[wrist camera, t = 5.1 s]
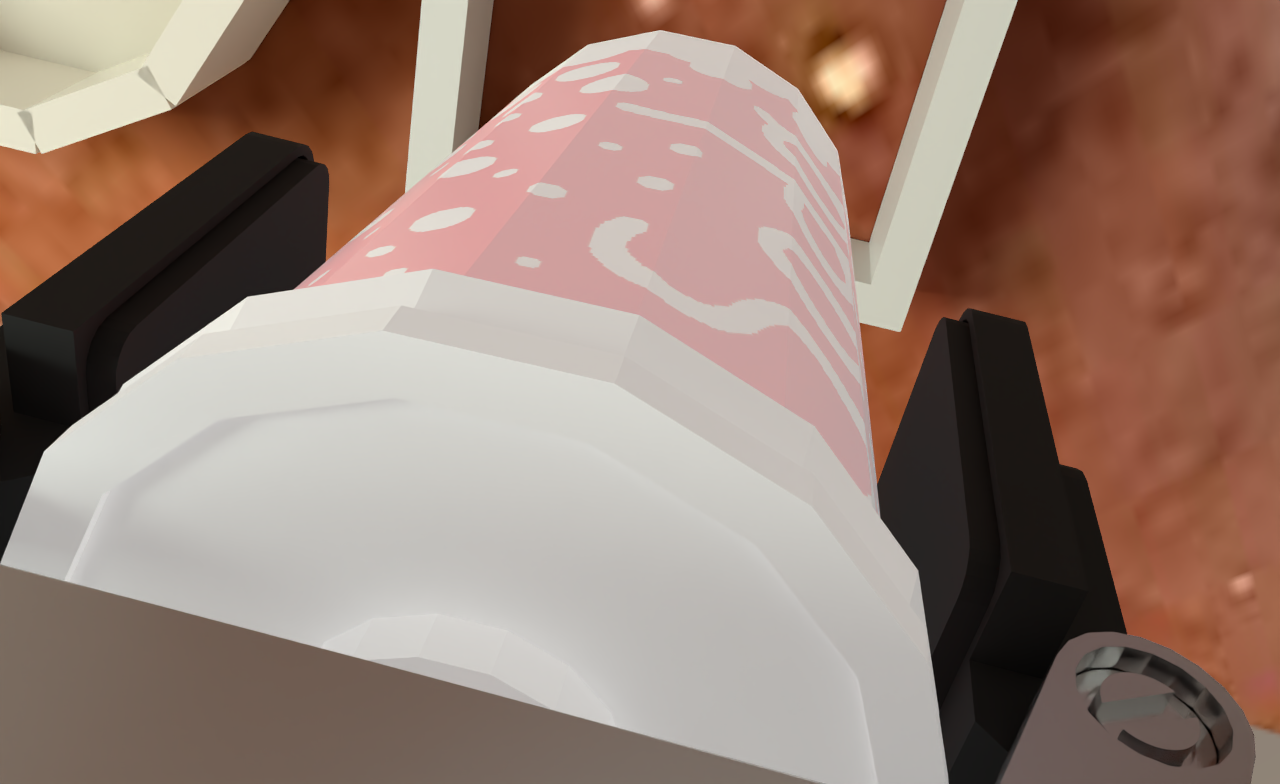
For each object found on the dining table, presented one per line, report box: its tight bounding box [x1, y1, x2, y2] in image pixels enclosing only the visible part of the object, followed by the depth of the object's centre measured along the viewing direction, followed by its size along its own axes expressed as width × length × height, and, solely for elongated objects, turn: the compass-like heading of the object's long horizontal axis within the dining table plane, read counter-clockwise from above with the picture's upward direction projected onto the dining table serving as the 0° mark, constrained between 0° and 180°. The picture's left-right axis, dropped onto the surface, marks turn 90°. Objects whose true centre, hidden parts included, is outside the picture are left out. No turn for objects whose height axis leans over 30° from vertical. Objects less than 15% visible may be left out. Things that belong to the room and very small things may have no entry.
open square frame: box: [405, 0, 1018, 332], centre depth 25 cm, size 12×12×2 cm
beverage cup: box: [0, 30, 949, 784], centre depth 9 cm, size 6×6×14 cm
